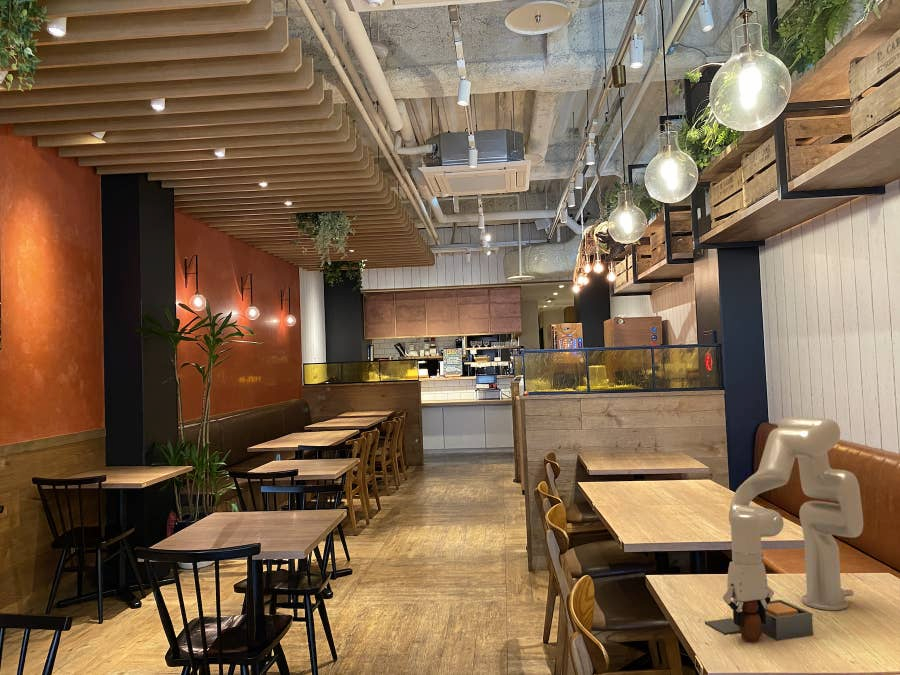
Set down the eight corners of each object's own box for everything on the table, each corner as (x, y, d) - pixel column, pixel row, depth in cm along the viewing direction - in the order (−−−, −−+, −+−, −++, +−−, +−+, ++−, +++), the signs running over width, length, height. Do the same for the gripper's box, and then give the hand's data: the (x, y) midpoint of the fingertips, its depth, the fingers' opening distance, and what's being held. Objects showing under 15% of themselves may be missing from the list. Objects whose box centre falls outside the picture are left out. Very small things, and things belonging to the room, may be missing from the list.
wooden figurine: (765, 645, 185) (762, 588, 185) (742, 644, 186) (739, 587, 186) (759, 635, 191) (756, 580, 192) (737, 634, 192) (734, 580, 193)
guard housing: (781, 620, 202) (780, 599, 202) (813, 635, 190) (812, 613, 191) (747, 625, 199) (746, 604, 199) (776, 640, 187) (775, 618, 187)
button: (780, 607, 199) (779, 602, 199) (798, 616, 192) (797, 610, 192) (759, 610, 197) (759, 605, 197) (777, 619, 190) (776, 613, 191)
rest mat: (731, 620, 203) (731, 618, 203) (752, 631, 195) (752, 628, 195) (704, 623, 201) (704, 621, 201) (724, 635, 192) (724, 632, 192)
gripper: (763, 551, 195) (766, 615, 195) (711, 557, 191) (714, 622, 190) (783, 558, 188) (786, 624, 187) (728, 564, 184) (731, 632, 183)
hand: (749, 623), depth 189 cm, fingers closed on wooden figurine, 6 cm apart
